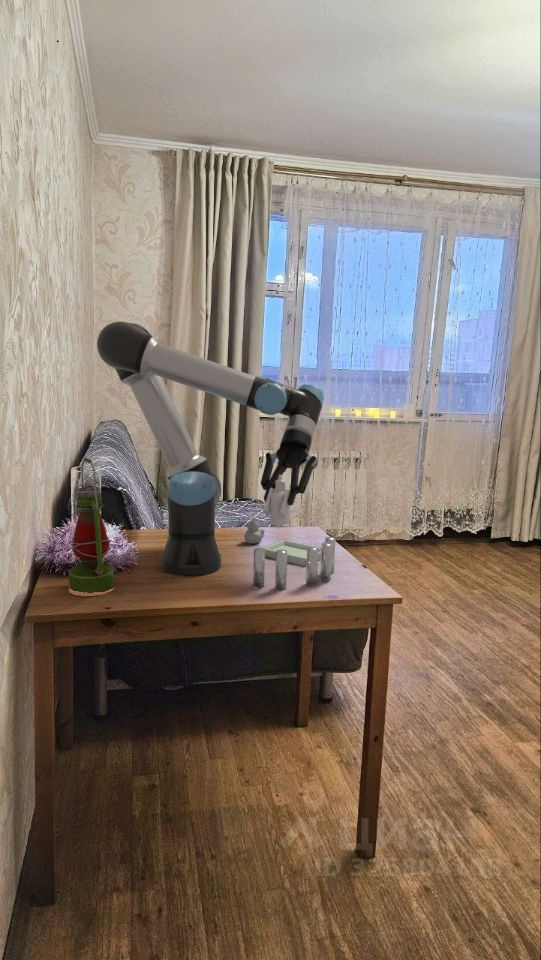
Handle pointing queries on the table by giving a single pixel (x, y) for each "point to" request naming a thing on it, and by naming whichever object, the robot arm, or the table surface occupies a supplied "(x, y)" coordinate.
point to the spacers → (311, 569)
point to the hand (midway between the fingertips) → (274, 514)
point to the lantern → (90, 543)
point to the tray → (291, 551)
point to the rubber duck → (253, 532)
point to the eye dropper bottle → (278, 504)
